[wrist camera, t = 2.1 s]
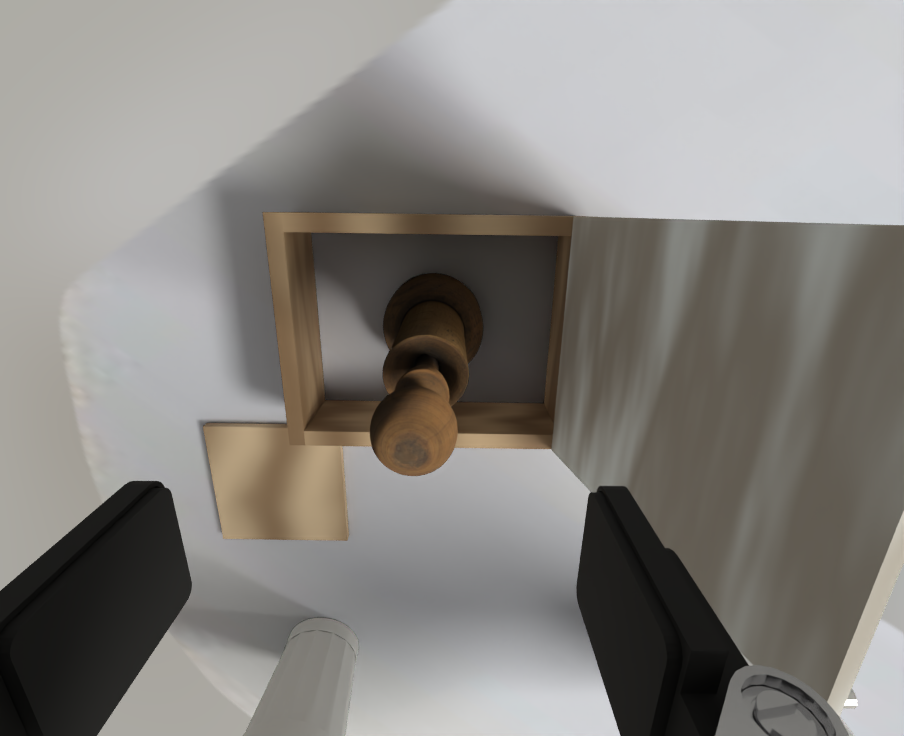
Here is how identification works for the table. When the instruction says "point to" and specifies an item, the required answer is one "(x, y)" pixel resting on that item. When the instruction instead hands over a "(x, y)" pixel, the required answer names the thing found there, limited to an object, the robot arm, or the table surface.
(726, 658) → the robot arm
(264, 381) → the table surface
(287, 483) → the cork mat
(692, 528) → the cold frame
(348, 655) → the cup
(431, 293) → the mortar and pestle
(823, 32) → the table surface
